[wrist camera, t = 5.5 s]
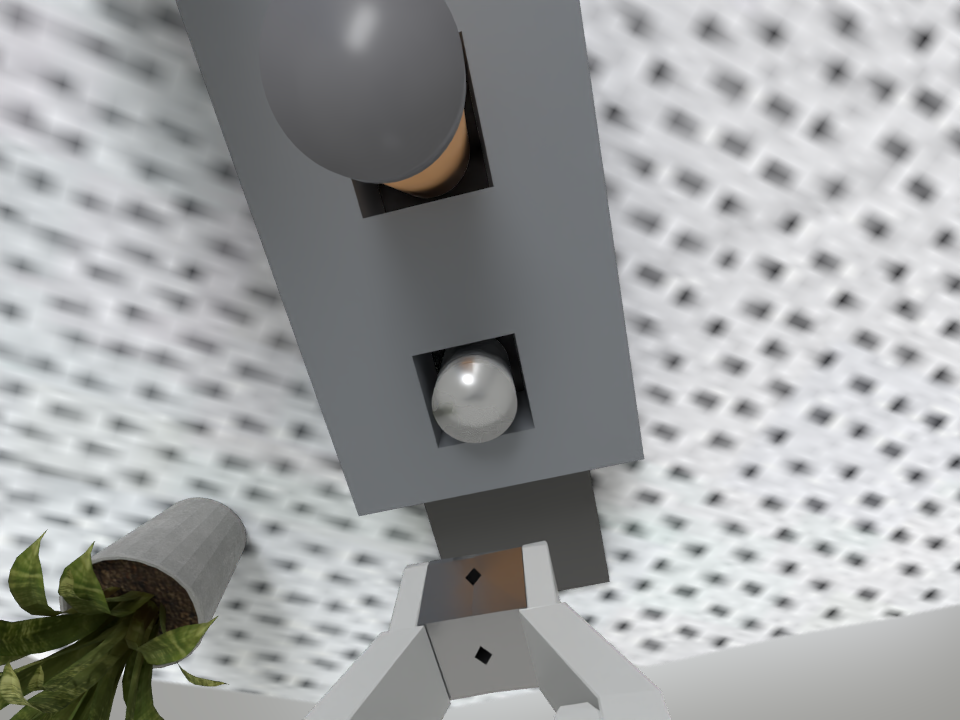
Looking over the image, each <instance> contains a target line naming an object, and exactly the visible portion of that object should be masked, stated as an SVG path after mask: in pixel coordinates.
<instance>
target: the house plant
mask: <svg viewBox="0 0 960 720" xmlns="http://www.w3.org/2000/svg"><path fill="white" fill-rule="evenodd" d="M46 531H47V530H46ZM46 531H45V532H46ZM45 532H44V533H43V534H42V535H41V536H40V537H39V538H38V539H37V540H36V541H35V542H34V543H33V544H32V545H31V546H29V547H28V548H27V549H26V550H25V551H24V552H23V553H21V554H20V555H19V556H18V557H17V558H16V560H15V562H14V564H13V566H12V568H11V570H10V574H9V579H8V583H9V588H10V592H11V593H12V595H13V597H14V599H15V600H16V602H17V603H18V604H19V606H20V607H21V608H22V609H23V610H25V611H27V612H28V613H30V614H31V615H40V616H51V617H43V618H35V619H29V620H23V621H17V622H9V621H4V620H0V666H1V665H5V664H6V665H5V667H4V671H3V672H0V710H1V709H3V708H4V707H6V706H7V705H9V704H17V705H26V706H25V707H23V708H22V709H21V710H20V711H19V712H18V713H17V714H16V715H14V716H13V717H12V718H11V719H10V720H109V717H110V712H111V707H112V703H113V699H114V695H115V692H116V688H117V685H118V682H119V679H120V677H121V674H122V672H123V669H124V667H125V670H124V675H123V680H122V685H123V698H124V701H125V703H126V706H127V709H126V718H125V720H164V719H163V718H162V717H161V716H160V715H159V714H158V712H157V711H156V709H155V707H154V705H153V697H152V689H151V679H152V669H153V668H162V667H166V666H169V665H173V664H176V663H178V662H179V661H181V660H183V659H184V658H186V657H188V656H189V655H191V654H192V652H193V651H194V650H195V649H196V648H197V647H198V645H199V644H200V643H201V640H202V638H203V636H204V634H205V632H206V631H207V629H208V628H209V626H210V625H211V624H212V623H213V622H214V621H215V619H216V618H217V617H218V616H217V617H216V618H214V619H212V617H213V615H214V613H215V611H216V608H217V606H218V604H219V602H220V600H221V598H222V596H223V593H224V591H225V589H226V587H227V585H228V583H229V581H230V578H231V576H232V574H233V572H234V570H235V568H236V566H237V564H238V561H239V559H240V557H241V555H242V553H243V550H244V548H245V545H246V532H245V529H244V526H243V524H242V522H241V521H240V519H239V517H238V516H237V515H236V514H235V513H234V512H233V511H232V510H231V509H229V508H228V507H226V506H225V505H223V504H222V503H219V502H216V501H214V500H211V499H205V498H188V499H186V500H183V501H180V502H178V503H176V504H175V505H173V506H171V507H170V508H168V509H167V510H165V511H164V512H162V513H160V514H159V515H157V516H156V517H154V518H152V519H151V520H149V521H148V522H146V523H145V524H143V525H141V526H140V527H138V528H137V529H135V530H133V531H132V532H130V533H129V534H127V535H126V536H124V537H122V538H121V539H119V540H118V541H116V542H114V543H113V544H111V545H110V546H108V547H107V548H105V549H103V550H102V551H100V552H99V553H97V554H95V555H94V556H92V557H91V551H92V548H93V545H94V542H95V541H94V542H93V543H92V545H91V546H90V547H89V548H88V550H87V551H86V552H85V553H84V554H83V555H81V556H80V557H79V558H77V559H76V560H75V561H74V562H72V563H71V564H70V565H68V566H67V567H66V568H65V569H64V571H63V574H62V576H61V578H60V583H59V589H58V593H59V595H60V597H59V601H60V610H61V611H54V610H53V609H52V608H51V607H49V606H48V604H47V600H46V596H45V591H44V583H43V575H42V569H41V564H40V560H39V555H38V554H39V547H40V540H41V539H42V537H43V536H44V534H45ZM59 614H62V615H59ZM56 615H58V616H56ZM211 619H212V620H211ZM77 640H78V641H77ZM75 641H77V642H76V643H74V644H72V645H70V646H68V647H66V648H64V649H62V650H60V651H58V652H56V653H54V654H52V655H50V656H48V657H46V658H44V659H41V660H38V661H36V662H33V663H30V664H28V665H25V666H23V667H20V668H18V669H15V670H13V669H12V667H11V665H10V662H12V661H15V660H18V659H20V658H23V657H25V656H27V655H30V654H36V653H43V652H46V651H50V650H54V649H58V648H61V647H63V646H66V645H68V644H70V643H72V642H75ZM178 665H179V664H178ZM179 667H180V666H179ZM180 669H181V671H182V673H183V674H184V675H185V677H186V678H187V679H188V681H189V682H191V683H193V684H195V685H202V686H218V685H222V684H226V683H223V682H218V681H212V680H207V679H202V678H198V677H195V676H193V675H191V674H189V673H187V672H186V671H185V670H183V669H182V668H181V667H180ZM228 685H229V684H228ZM37 690H44V691H42V692H41V693H38V694H37V695H35V696H33V697H32V698H30V699H28V700H26V699H25V698H24V697H23V696H25V695H27V694H29V693H31V692H32V691H37Z"/></svg>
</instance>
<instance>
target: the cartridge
mask: <svg viewBox="0 0 960 720" xmlns="http://www.w3.org/2000/svg"><path fill="white" fill-rule="evenodd" d="M259 62H260V72H261V79H262V84H263V87H264V91H265V95H266V98H267V100H268V103H269V106H270V108H271V111H272V113H273V114H274V116H275V118H276V120H277V122H278V124H279V125H280V127H281V128H282V130H283V131H284V133H285V134H286V136H287V137H288V138H289V139H290V140H291V142H292V143H293V144H294V145H295V146H296V147H297V148H298V149H299V150H300V151H301V152H302V153H303V154H304V155H306V156H307V157H308V158H310V159H311V160H312V161H314V162H315V163H316V164H318V165H320V166H322V167H324V168H325V169H327V170H329V171H332V172H334V173H337V174H339V175H342V176H345V177H348V178H351V179H354V180H357V181H361V182H366V183H375V184H380V183H383V184H385V185H388V186H390V187H393V188H395V189H397V190H400V191H402V192H405V193H407V194H410V195H412V196H415V197H420V198H433V197H437V196H441V195H443V194H445V193H447V192H449V191H450V190H452V189H453V188H454V187H455V186H456V185H457V184H458V183H459V182H460V180H461V179H462V177H463V176H464V174H465V172H466V169H467V167H468V163H469V158H470V143H469V137H468V131H467V125H466V119H465V113H464V105H465V96H466V73H465V65H464V57H463V50H462V44H461V40H460V36H459V32H458V29H457V26H456V23H455V21H454V18H453V16H452V13H451V11H450V10H449V8H448V6H447V4H446V2H445V0H271V2H270V4H269V6H268V9H267V12H266V15H265V18H264V20H263V25H262V30H261V35H260V46H259Z"/></svg>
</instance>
